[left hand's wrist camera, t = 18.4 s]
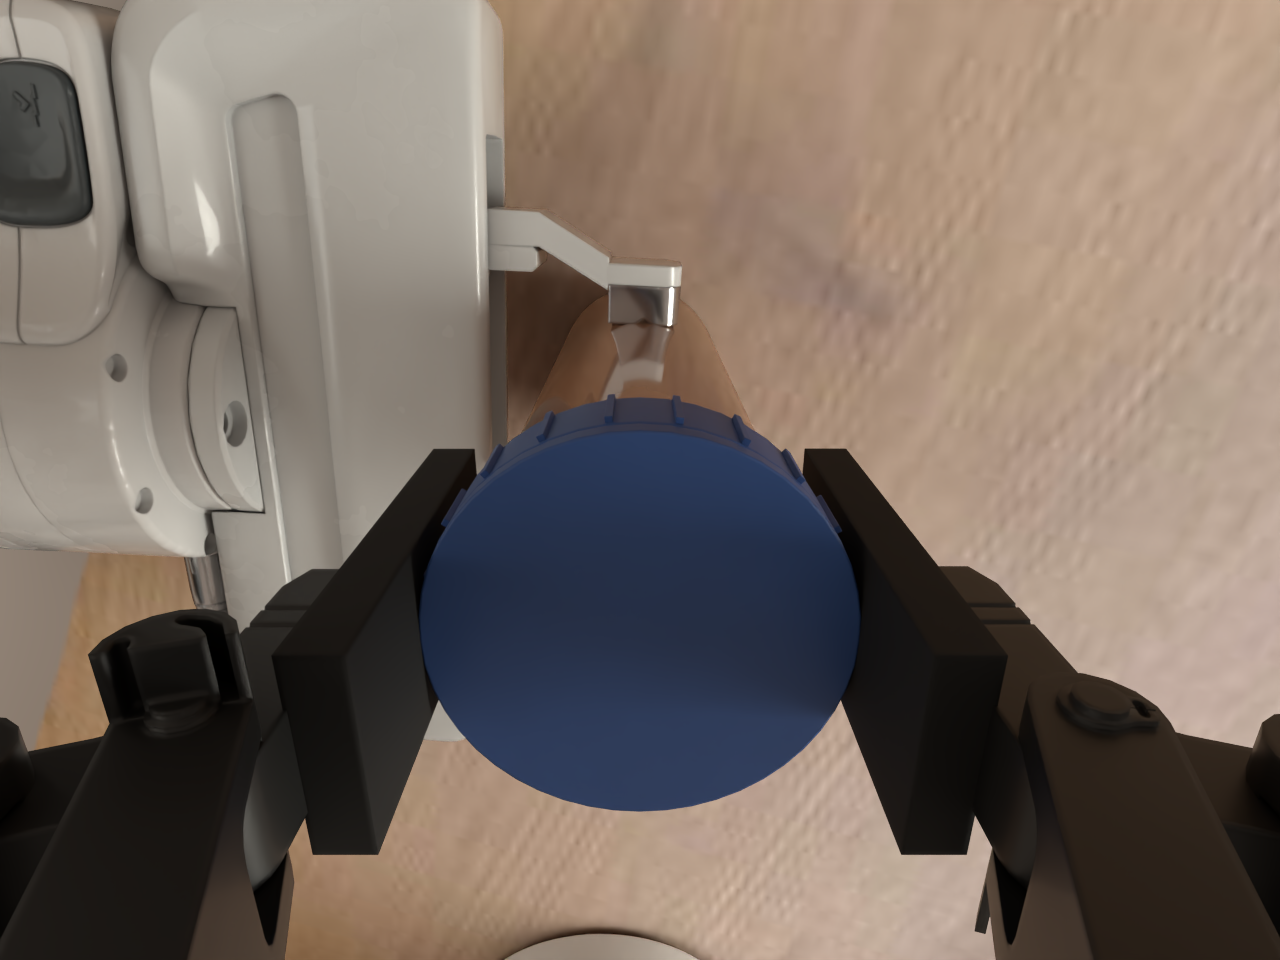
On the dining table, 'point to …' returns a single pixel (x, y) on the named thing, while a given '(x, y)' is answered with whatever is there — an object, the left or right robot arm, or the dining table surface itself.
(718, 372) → the jar
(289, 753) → the left robot arm
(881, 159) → the dining table surface
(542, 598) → the lid
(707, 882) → the dining table surface
